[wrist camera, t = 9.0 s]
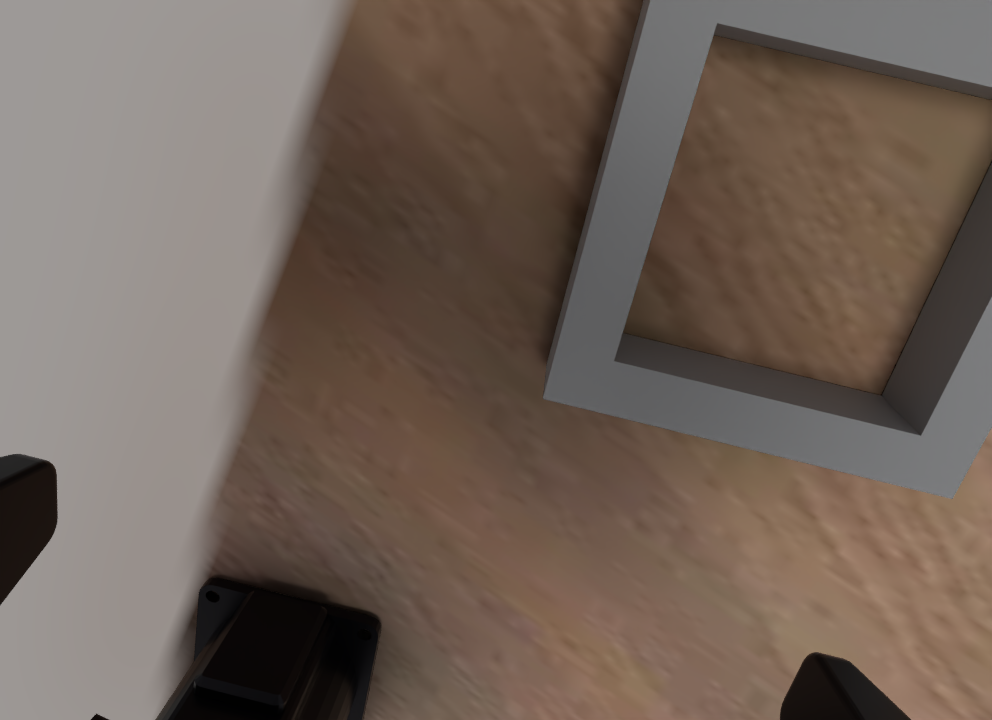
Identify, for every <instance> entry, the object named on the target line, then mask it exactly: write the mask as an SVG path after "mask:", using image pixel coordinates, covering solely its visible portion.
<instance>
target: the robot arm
mask: <svg viewBox="0 0 992 720" xmlns="http://www.w3.org/2000/svg"><path fill="white" fill-rule="evenodd" d="M56 525H57V475H56V469H55V467H54V466H53V464H51V463H50V462H49V461H46V460H43V459H39V458H35V457H30V456H27V455H22V454H13V455H8V456H4V457H0V605H1V604H2V602H3V601H4V600H5V598H6V597H7V596H8V594H9V593H10V592H11V590H12V589H13V588H14V587H15V585H16V584H17V583H18V581H19V580H20V579H21V577H22V576H23V575H24V574H25V572H26V571H27V570H28V568H29V567H30V566H31V564H32V563H33V562H34V560H35V559H36V558H37V556H38V555H39V554H40V552H41V551H42V550H43V549H44V547H45V546H46V545H47V543H48V542H49V541H50V539H51V537H52V535H53V534H54V531H55V528H56ZM213 591H214V592H216V593H217V594H218V595H217V594H215V593H213ZM362 629H366V630H368V631H369V632H365V631H363V630H362ZM380 634H381V625H380V623H379V621H377V620H376V619H375V618H373V617H371V616H368V615H364V614H360V613H356V612H352V611H348V610H344V609H340V608H336V607H332V606H328V605H324V604H320V603H316V602H312V601H308V600H304V599H300V598H296V597H292V596H288V595H284V594H280V593H276V592H272V591H268V590H264V589H260V588H256V587H252V586H248V585H244V584H240V583H236V582H232V581H228V580H224V579H220V578H211V579H208V580H207V581H206V582H205V584H204V585H203V586H202V588H201V589H200V592H199V600H198V614H197V628H196V642H195V656H194V663H193V664H192V666H191V667H190V669H189V670H188V672H187V673H186V675H185V676H184V678H183V679H182V681H181V682H180V684H179V685H178V687H177V688H176V690H175V691H174V693H173V694H172V696H171V697H170V699H169V700H168V702H167V703H166V705H165V706H164V708H163V709H162V711H161V712H160V714H159V715H158V717H157V719H156V720H363V719H364V714H365V709H366V704H367V699H368V694H369V689H370V684H371V679H372V674H373V669H374V664H375V659H376V654H377V649H378V644H379V639H380ZM91 720H108V719H106V718H104V717H102V716H100V715H98V714H96V715H95V716H94V717H93V718H92V719H91ZM780 720H911V719H910V718H909V717H908V716H907V715H906V714H905V713H904V712H903V711H902V710H900V709H899V708H898V707H897V706H896V705H895V704H894V703H893V702H892V701H891V700H890V699H889V698H888V697H887V696H886V695H885V694H884V693H883V692H882V691H880V690H879V689H878V688H877V687H876V686H875V685H874V684H873V683H872V682H871V681H870V680H869V679H868V678H867V677H866V676H865V675H864V674H863V673H862V672H860V671H859V670H858V669H857V668H856V667H855V666H854V665H853V664H852V663H851V662H849V661H847V660H845V659H842V658H839V657H834V656H830V655H826V654H822V653H818V652H815V653H811V654H809V655H808V656H807V657H806V658H805V659H804V661H803V663H802V665H801V667H800V669H799V671H798V673H797V675H796V677H795V679H794V681H793V683H792V685H791V687H790V688H789V690H788V692H787V694H786V696H785V698H784V701H783V703H782V707H781V712H780Z"/></svg>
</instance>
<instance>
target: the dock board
mask: <svg viewBox="0 0 992 720" xmlns="http://www.w3.org/2000/svg"><path fill="white" fill-rule="evenodd" d="M713 35H716V36H721V37H725V38H729V39H733V40H738V41H742V42H746V43H750V44H755V45H759V46H763V47H768V48H772V49H776V50H780V51H785V52H789V53H793V54H797V55H802V56H806V57H810V58H815V59H819V60H823V61H827V62H832V63H836V64H840V65H845V66H849V67H853V68H857V69H862V70H866V71H870V72H874V73H879V74H883V75H887V76H892V77H896V78H900V79H904V80H909V81H913V82H917V83H922V84H926V85H930V86H934V87H939V88H943V89H947V90H951V91H956V92H960V93H964V94H969V95H973V96H977V97H981V98H986V99H990V100H992V0H643V4H642V8H641V12H640V15H639V19H638V23H637V27H636V30H635V34H634V38H633V42H632V46H631V49H630V53H629V57H628V61H627V64H626V68H625V72H624V76H623V79H622V83H621V87H620V91H619V94H618V98H617V102H616V106H615V109H614V113H613V117H612V121H611V124H610V128H609V132H608V136H607V139H606V143H605V147H604V151H603V154H602V158H601V162H600V166H599V169H598V173H597V177H596V181H595V184H594V188H593V192H592V196H591V199H590V203H589V207H588V211H587V214H586V218H585V222H584V226H583V230H582V233H581V237H580V241H579V245H578V248H577V252H576V256H575V260H574V263H573V267H572V271H571V275H570V278H569V282H568V286H567V290H566V293H565V297H564V301H563V305H562V308H561V312H560V316H559V320H558V323H557V327H556V331H555V335H554V338H553V342H552V346H551V350H550V353H549V357H548V361H547V365H546V375H545V384H544V394H543V399H545V400H549V401H554V402H558V403H562V404H566V405H570V406H574V407H578V408H582V409H586V410H590V411H594V412H599V413H603V414H607V415H611V416H615V417H619V418H623V419H627V420H631V421H635V422H640V423H644V424H648V425H652V426H656V427H660V428H664V429H668V430H672V431H676V432H680V433H685V434H689V435H693V436H697V437H701V438H705V439H709V440H713V441H717V442H721V443H725V444H730V445H734V446H738V447H742V448H746V449H750V450H754V451H758V452H762V453H766V454H770V455H775V456H779V457H783V458H787V459H791V460H795V461H799V462H803V463H807V464H811V465H815V466H820V467H824V468H828V469H832V470H836V471H840V472H844V473H848V474H852V475H856V476H861V477H865V478H869V479H873V480H877V481H881V482H885V483H889V484H893V485H897V486H901V487H906V488H910V489H914V490H918V491H922V492H926V493H930V494H934V495H938V496H942V497H946V498H951V499H953V497H954V495H955V493H956V491H957V490H958V488H959V486H960V484H961V482H962V481H963V479H964V477H965V475H966V473H967V471H968V470H969V468H970V466H971V464H972V462H973V460H974V459H975V457H976V455H977V453H978V451H979V450H980V448H981V446H982V444H983V442H984V440H985V439H986V437H987V435H988V433H989V431H990V429H991V428H992V163H991V165H990V167H989V170H988V172H987V174H986V176H985V178H984V180H983V182H982V184H981V186H980V189H979V191H978V193H977V195H976V197H975V199H974V201H973V203H972V206H971V208H970V210H969V212H968V214H967V216H966V218H965V220H964V222H963V225H962V227H961V229H960V231H959V233H958V235H957V237H956V239H955V242H954V244H953V246H952V248H951V250H950V252H949V254H948V256H947V258H946V261H945V263H944V265H943V267H942V269H941V271H940V273H939V275H938V278H937V280H936V282H935V284H934V286H933V288H932V290H931V292H930V294H929V297H928V299H927V301H926V303H925V305H924V307H923V309H922V311H921V314H920V316H919V318H918V320H917V322H916V324H915V326H914V328H913V330H912V333H911V335H910V337H909V339H908V341H907V343H906V345H905V347H904V350H903V352H902V354H901V356H900V358H899V360H898V362H897V364H896V366H895V369H894V371H893V373H892V375H891V377H890V379H889V381H888V383H887V386H886V388H885V390H884V392H883V394H882V396H881V395H877V394H873V393H869V392H865V391H860V390H856V389H852V388H848V387H844V386H840V385H836V384H831V383H827V382H823V381H819V380H815V379H811V378H807V377H803V376H798V375H794V374H790V373H786V372H782V371H778V370H774V369H770V368H765V367H761V366H757V365H753V364H749V363H745V362H741V361H736V360H732V359H728V358H724V357H720V356H716V355H712V354H708V353H703V352H699V351H695V350H691V349H687V348H683V347H679V346H675V345H670V344H666V343H662V342H658V341H654V340H650V339H646V338H641V337H637V336H633V335H629V334H625V333H623V330H624V327H625V323H626V320H627V317H628V313H629V310H630V307H631V304H632V300H633V297H634V294H635V291H636V287H637V284H638V281H639V277H640V274H641V271H642V268H643V264H644V261H645V258H646V254H647V251H648V248H649V245H650V241H651V238H652V235H653V232H654V228H655V225H656V222H657V218H658V215H659V212H660V209H661V205H662V202H663V199H664V196H665V192H666V189H667V186H668V182H669V179H670V176H671V173H672V169H673V166H674V163H675V160H676V156H677V153H678V150H679V146H680V143H681V140H682V137H683V133H684V130H685V127H686V123H687V120H688V117H689V114H690V110H691V107H692V104H693V101H694V97H695V94H696V91H697V87H698V84H699V81H700V78H701V74H702V71H703V68H704V65H705V61H706V58H707V55H708V51H709V48H710V45H711V42H712V38H713Z"/></svg>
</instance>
